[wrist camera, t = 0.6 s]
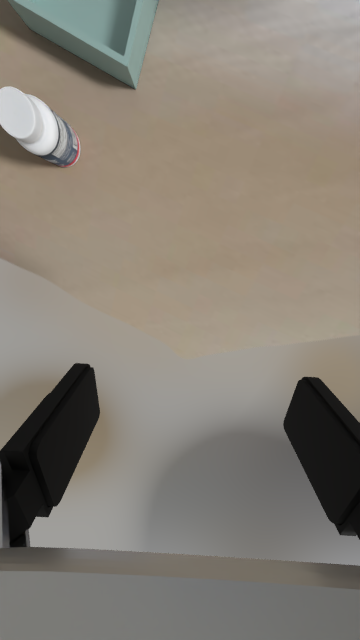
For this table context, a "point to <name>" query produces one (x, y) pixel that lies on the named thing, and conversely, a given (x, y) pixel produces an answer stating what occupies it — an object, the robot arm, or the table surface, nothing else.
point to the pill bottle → (38, 127)
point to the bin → (95, 30)
